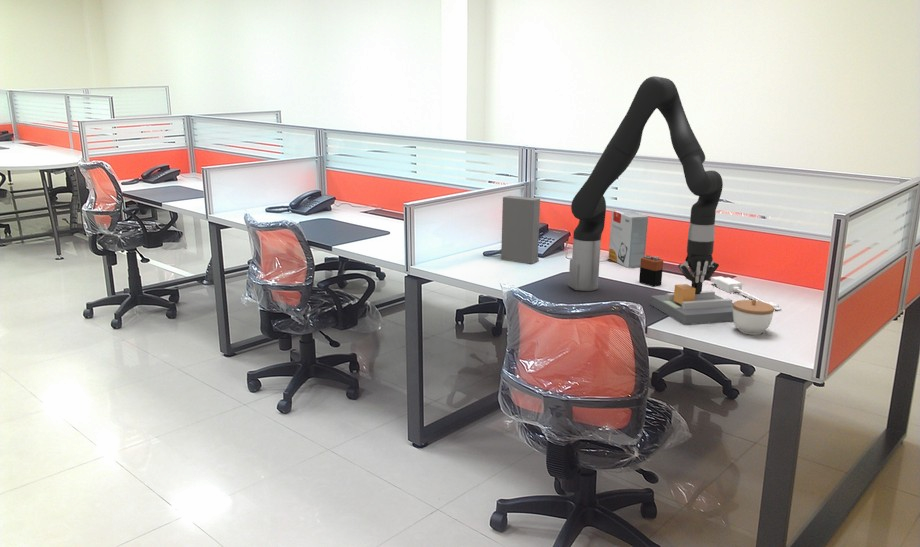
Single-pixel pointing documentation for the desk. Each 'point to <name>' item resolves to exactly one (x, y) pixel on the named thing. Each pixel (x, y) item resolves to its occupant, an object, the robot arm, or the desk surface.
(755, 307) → the lidded jar
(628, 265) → the hard drive box
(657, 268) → the battery
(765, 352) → the desk surface
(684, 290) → the handle
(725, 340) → the desk surface
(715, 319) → the tray
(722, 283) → the charging cable
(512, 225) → the tall grey upright block
